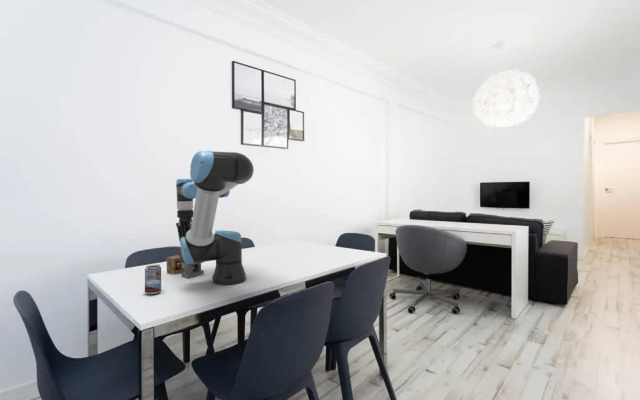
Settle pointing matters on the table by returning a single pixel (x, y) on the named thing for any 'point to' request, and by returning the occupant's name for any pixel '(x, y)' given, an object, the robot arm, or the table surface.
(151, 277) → the beverage can
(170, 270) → the socket block
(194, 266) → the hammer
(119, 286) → the table surface
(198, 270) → the grey slotted clamp block
